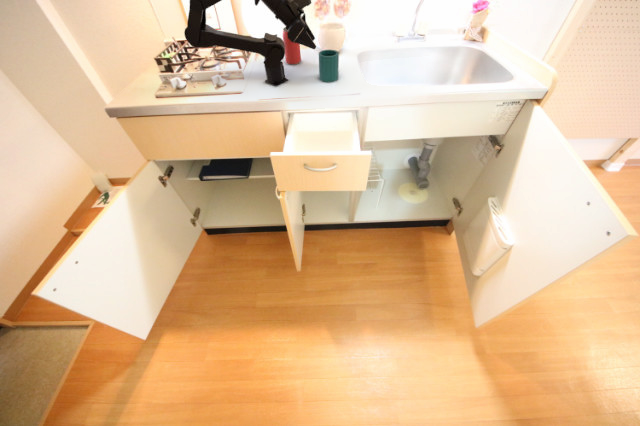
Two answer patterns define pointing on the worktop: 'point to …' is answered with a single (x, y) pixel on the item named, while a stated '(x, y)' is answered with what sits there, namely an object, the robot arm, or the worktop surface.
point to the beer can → (291, 50)
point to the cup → (331, 36)
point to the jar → (328, 65)
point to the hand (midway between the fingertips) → (314, 43)
